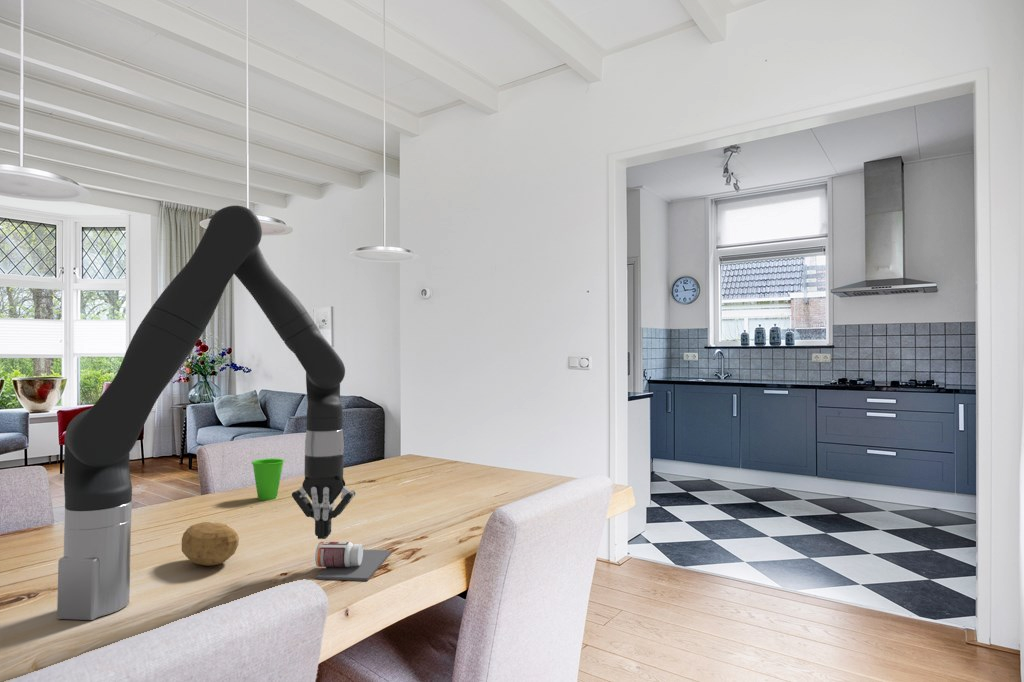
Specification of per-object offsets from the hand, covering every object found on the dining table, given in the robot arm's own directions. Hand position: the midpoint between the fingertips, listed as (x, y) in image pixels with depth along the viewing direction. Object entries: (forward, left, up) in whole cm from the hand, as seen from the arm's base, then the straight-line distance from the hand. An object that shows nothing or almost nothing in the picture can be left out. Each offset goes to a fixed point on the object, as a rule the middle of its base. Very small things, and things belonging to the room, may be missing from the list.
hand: (323, 537), depth 119 cm
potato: (-1, +23, -6) cm, 24 cm away
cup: (+53, +38, -6) cm, 66 cm away
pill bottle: (-2, 0, -3) cm, 3 cm away
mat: (+1, -7, -6) cm, 9 cm away
